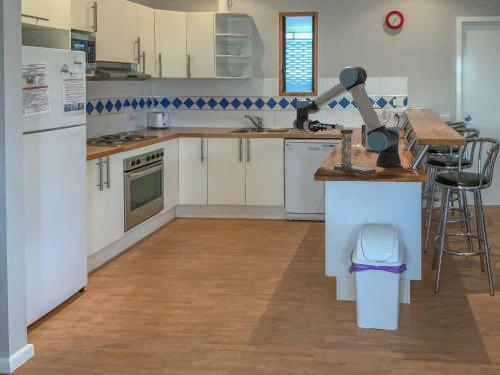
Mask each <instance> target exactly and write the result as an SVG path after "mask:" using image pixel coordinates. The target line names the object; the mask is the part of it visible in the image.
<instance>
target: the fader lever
mask: <svg viewBox="0 0 500 375" xmlns="http://www.w3.org/2000/svg"><path fill="white" fill-rule="evenodd" d="M353 132H354V130H353V129H343V130H340V134H341V159H340V160H341V162H340V163H339V165H340V166H346V167H347V166H353V163H352V134H353Z"/></svg>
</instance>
